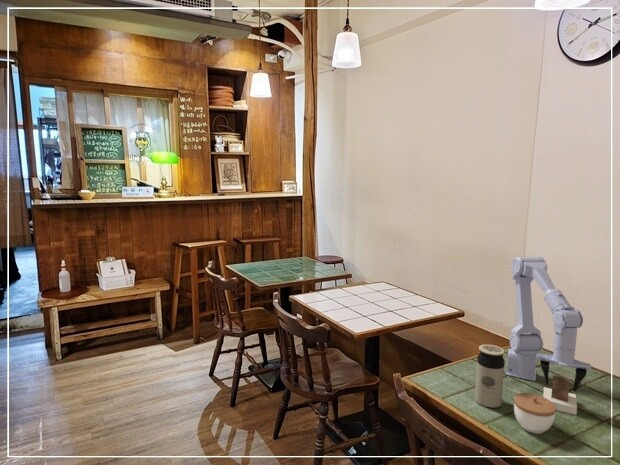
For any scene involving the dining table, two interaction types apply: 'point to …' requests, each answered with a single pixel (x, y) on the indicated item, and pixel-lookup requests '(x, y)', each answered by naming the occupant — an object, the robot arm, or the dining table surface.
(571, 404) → the cream tile block
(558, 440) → the dining table surface
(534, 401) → the lidded jar
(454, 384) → the dining table surface
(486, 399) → the travel mug
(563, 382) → the walnut block
